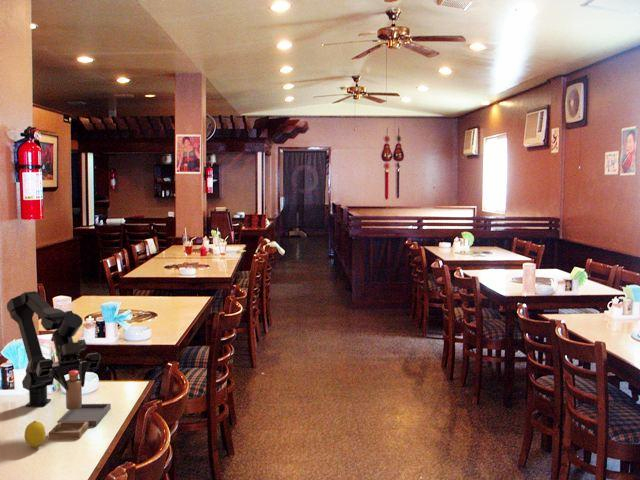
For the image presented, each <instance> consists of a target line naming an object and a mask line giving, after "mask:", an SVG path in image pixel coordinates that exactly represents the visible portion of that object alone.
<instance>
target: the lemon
mask: <svg viewBox="0 0 640 480" xmlns="http://www.w3.org/2000/svg"><path fill="white" fill-rule="evenodd" d="M45 439H46V429H45V425H44V424H43V423H42V422H40V421H37V420H33V421H32V422H30V423H28V425H26V427H25V430H24V440H25V442H26V444H27V445H28V446H30V447H32V448H35V449H36V448H38V446H40V445H42V444H43V442H44V441H45Z"/></svg>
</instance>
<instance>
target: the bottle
mask: <svg viewBox="0 0 640 480" xmlns="http://www.w3.org/2000/svg"><path fill="white" fill-rule="evenodd" d="M66 382H67V387H68V389H67V390H65V408H66V409H67V410H75V409H79V408H81V407H82V404H83V400H82V399H83V396H82V395H83V394H82V392H83V390H82V388H83V387H82V380H81V379H80V378H79V369H71V370H69V371H68V379H67V380H66Z"/></svg>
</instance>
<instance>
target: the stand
mask: <svg viewBox="0 0 640 480" xmlns="http://www.w3.org/2000/svg"><path fill="white" fill-rule="evenodd" d="M89 428H90V426H89V421H83V422H59V423H58V422H57V423H56V425H55V426H54V427H52V428H51V430H50V431H49V432H48V440H80V439H81V437H83V435H84V434H85V433H86V432H87V431H88V429H89ZM76 429H78V430H77V431H61V430H76Z"/></svg>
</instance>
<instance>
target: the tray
mask: <svg viewBox="0 0 640 480" xmlns="http://www.w3.org/2000/svg"><path fill="white" fill-rule="evenodd" d="M111 406H112V405H111V403H82V407H81V408H79V409H75V410H69V409H67V411H66V412H65V413H64V414H63V415H62V416H61V417H60V418H59V419H58V420H57V424H58V423H59V422H83V421H89V427H97V426H98V425H99V424H100V422H102V420H103V419H104V418H105V417H106V416H107V414H108V412H110V410H111V409H112V408H111Z"/></svg>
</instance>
